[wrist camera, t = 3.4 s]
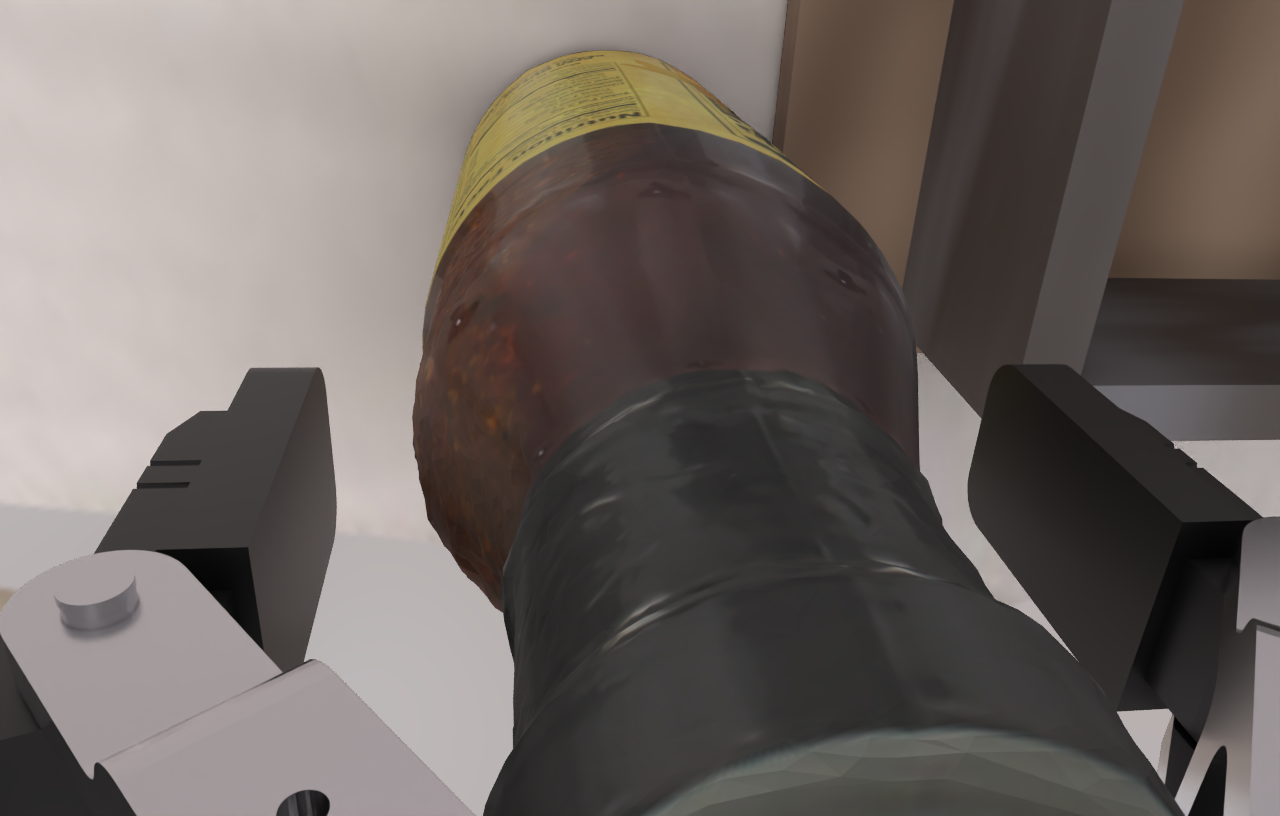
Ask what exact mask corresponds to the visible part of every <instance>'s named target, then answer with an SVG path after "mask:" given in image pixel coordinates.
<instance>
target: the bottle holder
mask: <svg viewBox="0 0 1280 816" xmlns="http://www.w3.org/2000/svg"><path fill="white" fill-rule="evenodd" d="M772 144H773V145H774V146H775V147H776V148H777V149H778V150H780V151H781V152H782V153H783V154H784V155H785V156H786V157H787V158H789V159H790V160H791V161H792V162H793V163H794V164H795V165H796V166H797V167H798V168H800V169H801V170H803V171H804V172H805V173H806V174H807V175H808V176H810V177H811V178H812V179H813V180H814V181H815V182H816V183H817V184H818V185H819V186H821V187H822V188H823V189H824V190H825V191H827V192H828V193H829V194H830V195H832V196H833V197H834V198H835V199H836V200H837V201H838V202H839V203H840V204H841V205H842V206H843V207H844V208H845V209H846V210H847V211H848V212H849V213H850V214H851V215H852V216H853V217H854V218H855V219H857V221H858V222H859V223H860V224H861V225H862V226H863V227H864V228H865V230H866V231H867V232H868V234H869V235H870V236H871V238H872V239H873V240H874V242H875V243H876V245H877V246H878V247H879V249H880V250H881V252H882V253H883V255H884V256H885V258H886V260H887V262H888V263H889V265H890V267H891V268H892V270H893V272H894V274H895V275H896V278H897V280H898V282H899V284H900V287H901V289H902V291H903V293H904V296H905V299H906V302H907V305H908V308H909V311H910V314H911V317H912V323H913V329H914V335H915V341H916V353H924V354H925V356H926V357H927V358H928V359H929V360H930V361H931V362H932V363H933V365H934V366H935V367H936V368H937V369H938V370H939V371H940V372H941V374H942V375H943V376H944V377H945V378H946V379H947V380H948V381H949V383H950V384H951V385H952V386H953V387H954V388H955V389H956V390H957V391H958V393H959V394H960V395H961V396H962V397H963V398H964V399H965V400H966V402H967V403H968V404H969V405H970V406H971V407H972V408H973V409H974V411H975V412H976V413H977V414H978V415H979V416H980V417H981V418H982V416H983V411H984V407H985V403H986V398H987V394H988V390H989V386H990V382H991V380H992V378H993V376H994V374H995V372H996V371H997V370H998V369H999V368H1000V367H1001V366H1003V365H1009V364H1065V365H1068V366H1069V367H1071V368H1072V369H1073V370H1074V371H1076V372H1077V373H1078V374H1079V375H1080V376H1082V377H1083V378H1084V379H1085V380H1086V381H1088V382H1089V383H1090V384H1091V385H1092V386H1094V387H1095V388H1096V389H1097V390H1098V391H1100V392H1101V393H1102V394H1103V395H1104V396H1106V397H1107V398H1108V399H1109V400H1110V401H1111V402H1113V403H1114V404H1115V405H1116V406H1117V407H1119V408H1120V409H1122V410H1124V411H1126V412H1128V413H1130V414H1132V415H1134V416H1136V417H1138V418H1140V419H1142V420H1144V421H1147V422H1148V423H1149V424H1150V425H1151V426H1153V427H1154V428H1155V429H1156V430H1157V431H1159V432H1160V433H1161V434H1162V435H1164V436H1165V437H1166V438H1167V439H1168V440H1170V441H1200V440H1280V0H788V6H787V15H786V24H785V34H784V43H783V52H782V61H781V70H780V79H779V88H778V97H777V106H776V115H775V125H774V134H773V143H772Z"/></svg>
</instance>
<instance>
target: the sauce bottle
mask: <svg viewBox="0 0 1280 816" xmlns="http://www.w3.org/2000/svg"><path fill="white" fill-rule="evenodd" d="M412 418H413V432H414V436H413V447H414V451H415V458H416V460H417V463H418V470H419V481H420V484H421V487H422V491H423V494H424V498H425V504H426V511H427V517H428V520H429V522H430V523H431V525H432V526H433V528H434V529H435V531H436V532H437V533H438V535H439V537H440V539H441V541H442V543H443V545H444V546H445V547H446V548H447V549H448V550H449V551H450V552H451V554H452V556H453V557H454V559H455V561H456V562H457V563H458V565H459V567H460V569H461V570H462V572H463V573H465V574H466V575H467V577H468V578H469V579H470V580H471V581H473V582H474V583H475V584H476V585H477V586H478V587H479V588H480V589H481V590H482V591H483V592H484V594H485V595H486V596H487V597H488V599H489V600H490V602H491V603H492V604H493V606H494V607H495V608H496V609H498V610H500V611H501V612H503V613H504V622H505V626H506V631H507V635H508V640H509V645H510V649H511V653H512V657H513V660H514V668H515V672H514V695H513V696H514V697H513V707H514V727H513V750H512V752H511V753H510V755H509V756H508V758H507V759H506V761H505V763H504V765H503V767H502V769H501V771H500V773H499V775H498V778H497V780H496V782H495V784H494V786H493V788H492V790H491V792H490V795H489V797H488V800H487V802H486V805H485V809H484V813H483V816H1185V814H1184V813H1183V811H1182V810H1181V808H1180V807H1179V805H1178V804H1177V802H1176V801H1175V799H1174V798H1173V796H1172V795H1171V793H1170V792H1169V790H1168V789H1167V787H1166V786H1165V784H1164V783H1163V781H1162V780H1161V778H1160V777H1159V775H1158V774H1157V772H1156V771H1155V769H1154V768H1153V766H1152V765H1151V763H1150V762H1149V761H1148V759H1147V758H1146V757H1145V755H1144V754H1143V753H1142V752H1141V750H1140V749H1139V748H1138V746H1137V745H1136V744H1135V742H1134V741H1133V739H1132V738H1131V736H1130V734H1129V733H1128V731H1127V730H1126V728H1125V727H1124V725H1123V723H1122V721H1121V719H1120V717H1119V715H1118V714H1117V712H1116V710H1115V708H1114V706H1113V705H1112V704H1111V703H1110V701H1109V700H1108V699H1107V697H1106V695H1105V693H1104V691H1103V689H1102V688H1101V687H1100V686H1099V685H1098V683H1097V682H1096V681H1095V680H1094V678H1093V677H1092V676H1091V675H1090V674H1089V673H1088V672H1087V671H1086V670H1085V669H1084V668H1083V666H1082V665H1081V664H1080V663H1079V662H1078V661H1077V660H1076V659H1075V658H1074V657H1073V656H1072V655H1071V654H1070V653H1069V652H1068V651H1067V650H1066V649H1065V648H1064V647H1063V646H1062V645H1061V644H1060V643H1059V642H1058V641H1057V640H1056V639H1055V638H1054V637H1053V636H1052V635H1051V634H1050V633H1049V632H1048V631H1047V630H1046V629H1045V628H1044V627H1043V626H1042V625H1040V624H1038V623H1037V622H1036V621H1034V620H1033V619H1031V618H1030V617H1028V616H1027V615H1025V614H1024V613H1022V612H1021V611H1019V610H1017V609H1015V608H1013V607H1011V606H1009V605H1006V604H1004V603H1002V602H999V601H997V600H995V599H994V597H993V596H992V594H991V593H990V591H989V590H988V588H987V587H986V586H985V584H984V582H983V580H982V578H981V576H980V574H979V572H978V570H977V569H976V567H975V566H974V565H973V564H972V562H971V561H970V560H969V559H968V558H967V557H966V555H965V554H964V553H963V552H962V551H961V549H960V548H959V547H958V546H957V545H956V544H955V542H954V541H953V540H952V539H951V538H950V536H949V535H948V533H947V532H946V530H945V529H944V527H943V526H942V518H941V515H940V513H939V511H938V508H937V506H936V503H935V500H934V498H933V495H932V492H931V489H930V486H929V483H928V480H927V479H926V478H925V477H924V476H923V475H922V473H921V472H920V464H919V422H918V371H917V354H916V341H915V335H914V329H913V323H912V317H911V314H910V311H909V308H908V305H907V302H906V299H905V296H904V293H903V291H902V289H901V287H900V284H899V282H898V280H897V278H896V275H895V274H894V272H893V270H892V268H891V267H890V265H889V263H888V262H887V260H886V258H885V256H884V255H883V253H882V252H881V250H880V249H879V247H878V246H877V245H876V243H875V242H874V240H873V239H872V238H871V236H870V235H869V234H868V232H867V231H866V230H865V228H864V227H863V226H862V225H861V224H860V223H859V222H858V221H857V219H855V218H854V217H853V216H852V215H851V214H850V213H849V212H848V211H847V210H846V209H845V208H844V207H843V206H842V205H841V204H840V203H839V202H838V201H837V200H836V199H835V198H834V197H833V196H832V195H830V194H829V193H828V192H827V191H825V190H824V189H823V188H822V187H821V186H819V185H818V184H817V183H816V182H815V181H814V180H813V179H812V178H811V177H810V176H808V175H807V174H806V173H805V172H804V171H803V170H801V169H800V168H798V167H797V166H796V165H795V164H794V163H793V162H792V161H791V160H790V159H789V158H787V157H786V156H785V155H784V154H783V153H782V152H781V151H780V150H778V149H777V148H776V147H775V146H774V145H773V144H772V143H771V142H769V141H768V140H767V139H766V138H765V137H763V136H762V135H760V134H759V133H758V132H756V131H755V130H754V129H753V128H752V127H751V126H750V125H748V124H747V123H745V122H744V121H742V120H741V119H740V118H739V117H738V116H737V115H736V114H735V113H734V112H733V111H731V110H730V109H729V108H728V107H727V106H725V105H724V104H723V103H721V102H720V101H719V100H718V99H717V98H716V97H715V96H713V95H712V94H711V93H710V92H708V91H707V90H706V89H705V88H703V87H702V86H701V85H700V84H698V83H697V82H696V81H695V80H693V79H692V78H691V77H689V76H688V75H686V74H684V73H683V72H681V71H680V70H678V69H676V68H674V67H673V66H671V65H669V64H667V63H665V62H663V61H661V60H659V59H655V58H652V57H649V56H646V55H642V54H639V53H632V52H625V51H606V50H602V51H585V52H579V53H575V54H570V55H566V56H562V57H558V58H556V59H553V60H551V61H548V62H546V63H544V64H541V65H539V66H537V67H534V68H532V69H529V70H528V71H526V72H525V73H524V74H523V75H522V76H520V77H519V78H518V79H517V80H516V81H515V82H513V83H512V84H511V85H510V86H509V87H508V88H507V89H506V90H505V91H504V92H503V93H502V94H501V95H500V96H499V97H498V98H497V99H496V100H495V102H494V103H493V104H492V105H491V107H490V108H489V109H488V111H487V112H486V113H485V115H484V116H483V118H482V119H481V121H480V123H479V125H478V127H477V129H476V130H475V132H474V134H473V136H472V138H471V141H470V143H469V146H468V148H467V152H466V155H465V158H464V162H463V165H462V169H461V173H460V177H459V181H458V184H457V188H456V192H455V196H454V200H453V203H452V207H451V211H450V215H449V218H448V222H447V226H446V229H445V233H444V237H443V240H442V244H441V248H440V251H439V255H438V259H437V262H436V266H435V270H434V274H433V278H432V282H431V286H430V289H429V293H428V297H427V301H426V307H425V316H424V325H423V356H422V360H421V363H420V368H419V372H418V376H417V380H416V392H415V403H414V407H413V417H412Z"/></svg>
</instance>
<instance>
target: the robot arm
mask: <svg viewBox="0 0 1280 816" xmlns="http://www.w3.org/2000/svg"><path fill="white" fill-rule="evenodd" d="M968 501H969V507H970V511H971V514H972V517H973V520H974V522H975V524H976V525H977V527H978V528H979V530H980V531H981V532H982V534H983V535H984V536H985V538H986V539H987V540H988V542H989V543H990V544H991V546H992V547H993V548H994V550H995V551H996V552H997V554H998V555H999V556H1000V558H1001V559H1002V560H1003V562H1004V563H1005V564H1006V566H1007V567H1008V568H1009V570H1010V571H1011V572H1012V574H1013V575H1014V576H1015V578H1016V579H1017V580H1018V582H1019V583H1020V584H1021V586H1022V587H1023V588H1024V590H1025V591H1026V592H1027V594H1028V595H1029V596H1030V598H1031V599H1032V600H1033V602H1034V603H1035V604H1036V606H1037V607H1038V608H1039V610H1040V611H1041V612H1042V614H1043V615H1044V616H1045V617H1046V619H1047V620H1048V622H1049V623H1050V624H1051V626H1052V627H1053V628H1054V630H1055V631H1056V632H1057V634H1058V635H1059V636H1060V638H1061V639H1062V640H1063V642H1064V643H1065V644H1066V646H1067V647H1068V648H1069V650H1070V651H1071V652H1072V654H1073V655H1074V656H1075V658H1076V659H1077V660H1078V662H1079V663H1080V664H1081V665H1082V666H1083V668H1084V669H1085V670H1086V671H1087V672H1088V673H1089V674H1090V675H1091V676H1092V677H1093V678H1094V680H1095V681H1096V682H1097V683H1098V685H1099V686H1100V687H1101V688H1102V689H1103V691H1104V693H1105V695H1106V697H1107V699H1108V700H1109V701H1110V703H1111V704H1112V705H1113V706H1114V708H1115V710H1116V711H1134V710H1152V709H1169V710H1170V711H1171V712H1172V717H1171V719H1170V722H1169V724H1168V727H1167V730H1166V732H1165V735H1164V738H1163V741H1162V745H1161V751H1160V758H1159V765H1158V771H1157V774H1158V775H1159V777H1160V778H1161V780H1162V781H1163V783H1164V784H1165V786H1166V787H1167V789H1168V790H1169V792H1170V793H1171V795H1172V796H1173V798H1174V799H1175V801H1176V802H1177V804H1178V805H1179V807H1180V808H1181V810H1182V811H1183V813H1184V814H1185V816H1280V517H1266V518H1263V517H1262V516H1261V515H1260V514H1258V513H1257V512H1256V511H1255V510H1253V509H1252V508H1251V507H1250V506H1249V505H1247V504H1246V503H1245V502H1244V501H1243V500H1241V499H1240V498H1239V497H1238V496H1236V495H1235V494H1234V493H1233V492H1232V491H1230V490H1229V489H1228V488H1227V487H1226V486H1224V485H1223V484H1222V483H1221V482H1219V481H1218V480H1217V479H1216V478H1215V477H1213V476H1212V475H1211V474H1210V473H1208V472H1207V471H1206V470H1205V469H1204V468H1197V463H1196V462H1195V461H1194V460H1193V459H1191V458H1190V457H1189V456H1188V455H1187V454H1185V453H1184V452H1183V451H1182V450H1181V449H1174V444H1173V443H1172V442H1171V441H1170V440H1168V439H1167V438H1166V437H1165V436H1164V435H1162V434H1161V433H1160V432H1159V431H1157V430H1156V429H1155V428H1154V427H1153V426H1151V425H1150V424H1149V423H1148V422H1147V421H1144V420H1142V419H1140V418H1138V417H1136V416H1134V415H1132V414H1130V413H1128V412H1126V411H1124V410H1122V409H1120V408H1119V407H1117V406H1116V405H1115V404H1114V403H1113V402H1111V401H1110V400H1109V399H1108V398H1107V397H1106V396H1104V395H1103V394H1102V393H1101V392H1100V391H1098V390H1097V389H1096V388H1095V387H1094V386H1092V385H1091V384H1090V383H1089V382H1088V381H1086V380H1085V379H1084V378H1083V377H1082V376H1080V375H1079V374H1078V373H1077V372H1076V371H1074V370H1073V369H1072V368H1071V367H1069V366H1068V365H1065V364H1009V365H1003V366H1001V367H1000V368H999V369H998V370H997V371H996V372H995V374H994V376H993V378H992V380H991V382H990V386H989V390H988V394H987V398H986V403H985V407H984V411H983V416H982V420H981V424H980V429H979V433H978V437H977V442H976V446H975V450H974V455H973V459H972V463H971V468H970V472H969V477H968ZM336 508H337V505H336V485H335V475H334V465H333V455H332V446H331V436H330V426H329V416H328V406H327V396H326V388H325V381H324V377H323V374H322V371H321V369H320V368H251V369H249V371H248V372H247V374H246V376H245V378H244V380H243V382H242V384H241V386H240V388H239V390H238V391H237V393H236V395H235V397H234V399H233V401H232V403H231V405H230V407H229V409H228V411H200V412H199V413H197V414H196V415H194V416H193V417H191V418H190V419H188V420H187V421H185V422H184V423H182V424H181V425H179V426H178V427H177V428H175V429H174V430H172V431H171V432H169V433H168V434H166V436H165V438H164V439H163V441H162V443H161V444H160V446H159V447H158V449H157V451H156V452H155V454H154V456H153V457H152V459H151V461H150V466H147V467H146V469H145V471H144V472H143V474H142V475H141V477H140V479H139V480H138V482H137V489H133V490H132V492H131V494H130V495H129V497H128V498H127V500H126V502H125V503H124V505H123V507H122V508H121V510H120V512H119V513H118V515H117V517H116V518H115V520H114V522H113V523H112V525H111V526H110V528H109V530H108V531H107V533H106V535H105V537H104V538H103V540H102V541H101V543H100V545H99V546H98V548H97V550H96V551H95V553H94V554H92V555H88V556H84V557H81V558H78V559H74V560H71V561H68V562H65V563H63V564H60V565H58V566H55V567H53V568H51V569H49V570H47V571H45V572H43V573H42V574H40V575H38V576H36V577H35V578H33V579H32V580H30V581H29V582H27V583H26V584H25V585H23V586H22V587H21V588H20V589H19V590H17V591H16V592H15V593H14V594H13V595H12V597H11V598H10V599H9V600H8V601H7V603H6V604H5V606H4V607H3V609H2V611H1V614H0V816H476V815H475V814H474V813H473V812H472V811H471V810H470V809H469V808H468V807H467V806H466V805H465V804H464V803H463V802H462V801H461V800H460V799H459V798H458V797H457V796H456V795H455V794H454V793H453V792H452V791H451V790H450V789H449V788H448V787H447V786H446V785H445V784H444V783H443V782H442V781H441V780H440V779H439V778H438V777H437V776H436V775H435V774H434V772H433V771H431V770H430V768H429V767H427V765H426V764H425V763H424V762H423V761H422V760H421V759H420V758H419V757H418V756H417V755H416V754H415V753H414V752H413V751H412V750H411V749H410V748H409V747H408V746H407V745H406V744H405V743H404V742H403V741H402V740H401V739H400V738H399V737H398V736H397V735H396V734H395V733H394V732H393V731H392V730H391V729H390V728H389V727H388V726H387V725H386V724H385V723H384V722H383V721H382V720H381V719H380V718H379V717H378V716H377V714H376V713H375V712H374V711H372V709H371V708H370V707H368V706H367V704H366V703H365V702H364V701H363V700H362V699H361V698H360V697H359V696H358V695H357V694H356V693H355V692H354V691H353V690H352V689H351V688H350V687H349V686H348V685H347V684H346V683H345V682H344V681H343V680H342V679H341V678H340V677H339V676H338V675H337V674H336V673H335V672H334V671H333V670H332V669H331V668H330V667H329V666H327V665H326V664H324V663H323V662H321V661H318V660H316V659H310V660H308V661H306V662H304V658H305V654H306V650H307V646H308V642H309V638H310V634H311V630H312V626H313V622H314V618H315V614H316V610H317V606H318V602H319V598H320V594H321V590H322V587H323V583H324V579H325V574H326V570H327V567H328V563H329V559H330V555H331V551H332V547H333V543H334V537H335V529H336ZM303 662H304V663H303Z"/></svg>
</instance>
